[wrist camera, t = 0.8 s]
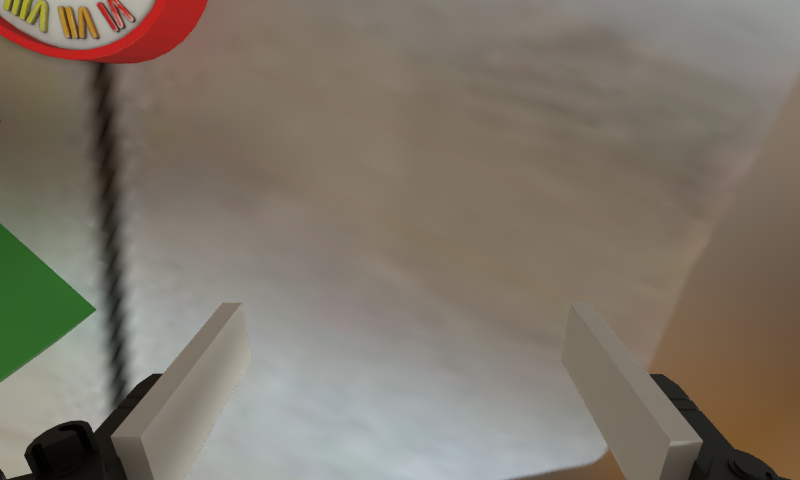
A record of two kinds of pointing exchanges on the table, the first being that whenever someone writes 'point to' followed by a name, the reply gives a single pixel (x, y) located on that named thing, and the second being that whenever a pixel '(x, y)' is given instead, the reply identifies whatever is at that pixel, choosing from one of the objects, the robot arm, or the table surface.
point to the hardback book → (32, 305)
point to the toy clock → (100, 27)
